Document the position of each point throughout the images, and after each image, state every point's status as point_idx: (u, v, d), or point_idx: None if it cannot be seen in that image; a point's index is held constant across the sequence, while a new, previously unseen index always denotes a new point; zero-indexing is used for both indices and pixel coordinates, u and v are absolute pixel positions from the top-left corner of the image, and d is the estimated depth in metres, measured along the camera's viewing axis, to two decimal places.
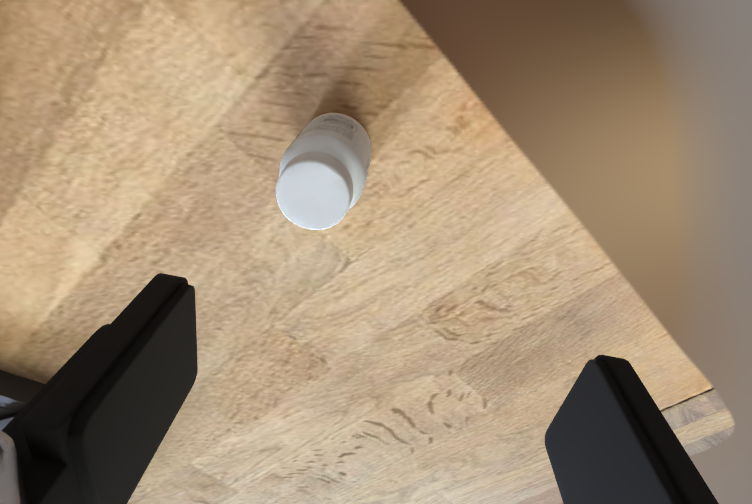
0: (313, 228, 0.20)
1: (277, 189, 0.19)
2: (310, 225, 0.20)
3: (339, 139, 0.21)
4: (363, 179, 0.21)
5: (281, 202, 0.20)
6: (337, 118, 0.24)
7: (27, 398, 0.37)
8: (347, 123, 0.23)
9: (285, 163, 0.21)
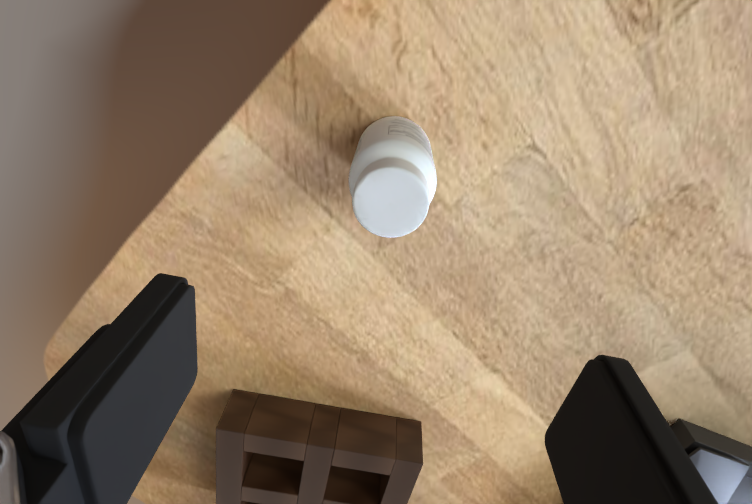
0: (426, 206, 0.19)
1: (382, 235, 0.20)
2: (422, 208, 0.19)
3: (352, 162, 0.21)
4: (393, 141, 0.20)
5: (396, 233, 0.20)
6: None
7: None
8: (358, 144, 0.24)
9: None
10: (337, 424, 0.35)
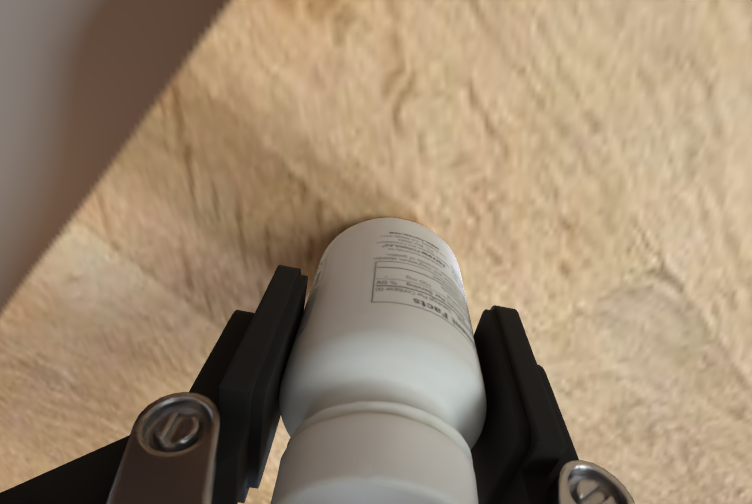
0: None
1: None
2: None
3: (286, 370, 0.09)
4: (382, 337, 0.08)
5: None
6: None
7: None
8: (313, 283, 0.11)
9: None
10: None
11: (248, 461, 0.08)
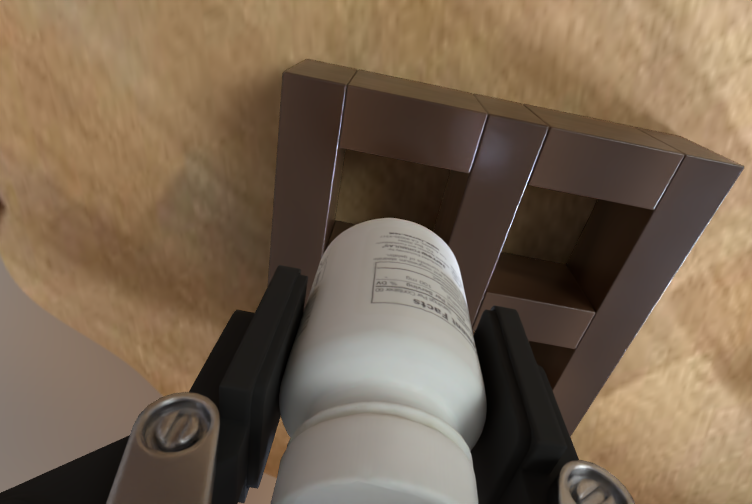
0: None
1: None
2: None
3: (286, 370, 0.09)
4: (382, 338, 0.08)
5: None
6: None
7: None
8: (313, 283, 0.11)
9: None
10: (531, 112, 0.17)
11: (248, 461, 0.08)
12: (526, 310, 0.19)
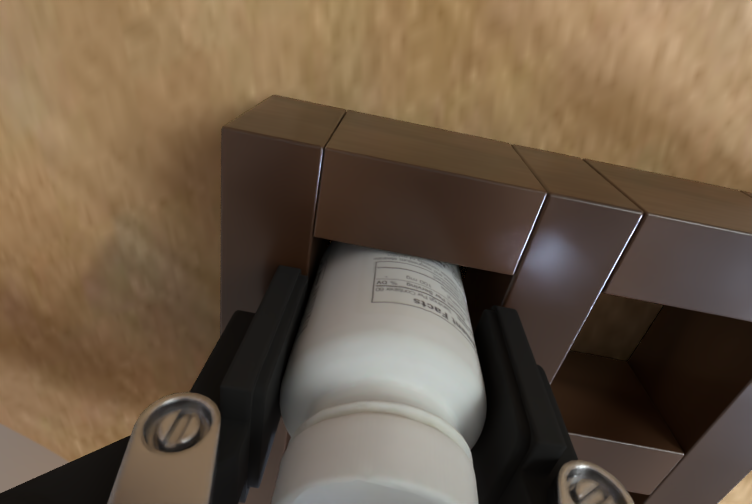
0: None
1: None
2: None
3: (286, 370, 0.09)
4: (382, 337, 0.08)
5: None
6: None
7: None
8: (313, 283, 0.11)
9: None
10: (602, 177, 0.11)
11: (249, 461, 0.08)
12: (585, 449, 0.13)
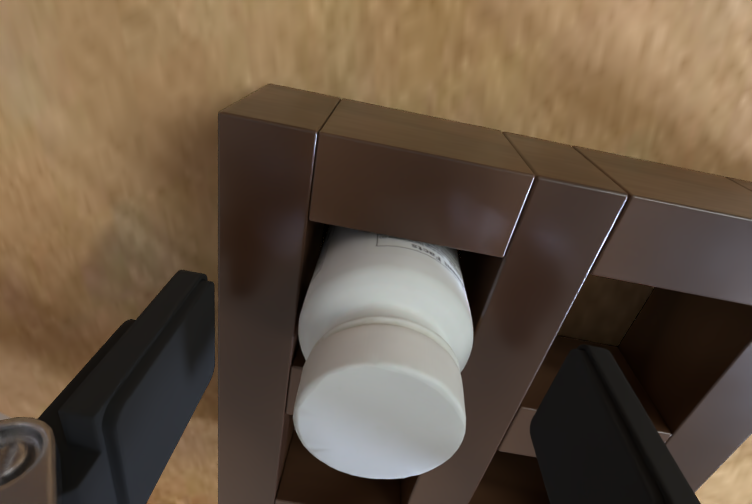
0: (460, 435, 0.08)
1: (363, 476, 0.09)
2: (450, 438, 0.08)
3: (304, 303, 0.10)
4: (385, 270, 0.09)
5: (392, 475, 0.09)
6: None
7: None
8: (324, 241, 0.13)
9: None
10: (590, 162, 0.12)
11: (116, 491, 0.07)
12: None
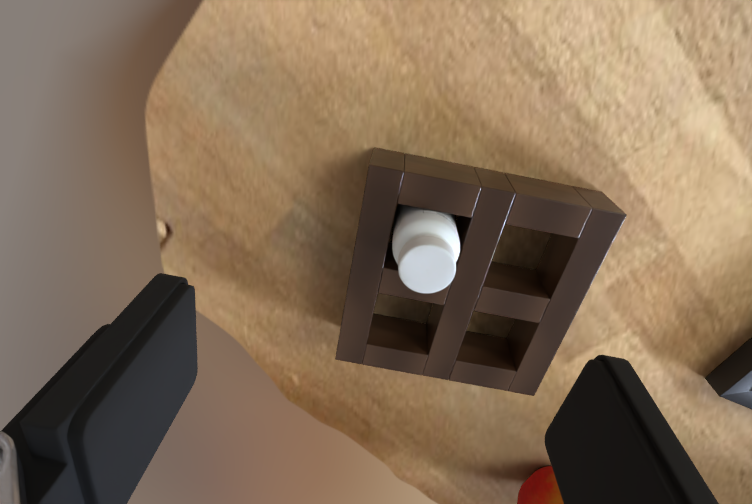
0: (454, 272, 0.25)
1: (420, 292, 0.26)
2: (450, 273, 0.25)
3: (396, 234, 0.27)
4: (427, 220, 0.27)
5: (430, 290, 0.26)
6: (394, 220, 0.31)
7: None
8: (397, 214, 0.30)
9: None
10: (508, 180, 0.29)
11: (86, 503, 0.07)
12: (507, 298, 0.30)
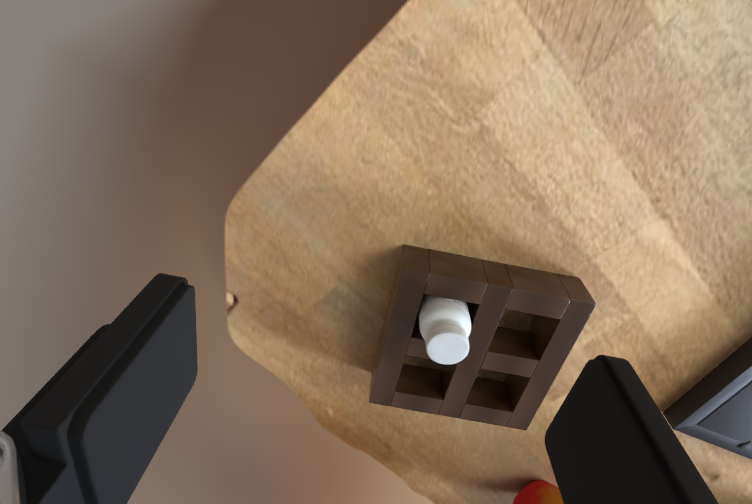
0: (467, 350, 0.34)
1: (442, 363, 0.35)
2: (465, 351, 0.34)
3: (423, 317, 0.36)
4: (447, 309, 0.35)
5: (450, 362, 0.35)
6: None
7: None
8: None
9: None
10: (507, 273, 0.37)
11: (86, 503, 0.07)
12: (506, 359, 0.39)
